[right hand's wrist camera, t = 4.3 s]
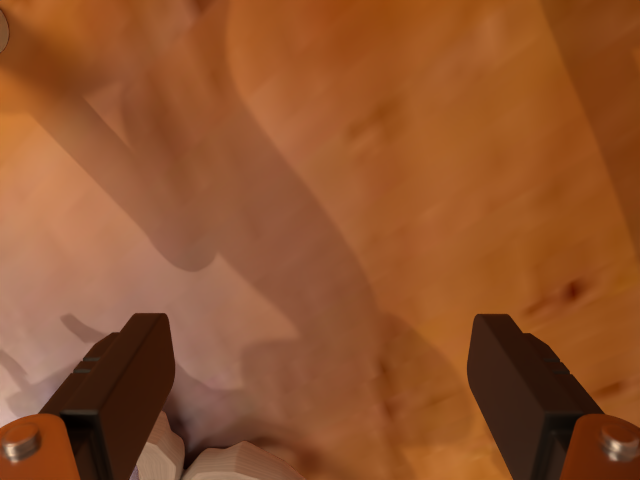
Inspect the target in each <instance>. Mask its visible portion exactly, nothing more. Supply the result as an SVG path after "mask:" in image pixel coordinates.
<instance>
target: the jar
mask: <svg viewBox="0 0 640 480" xmlns="http://www.w3.org/2000/svg"><path fill="white" fill-rule="evenodd" d="M8 39H9V28H8V24H7V21H6V18H5V16H4V14H3V13H2V11H1V10H0V52H2V51H3V50H4V48H5V47H6V45H7V43H8Z"/></svg>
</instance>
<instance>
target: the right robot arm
mask: <svg viewBox="0 0 640 480" xmlns="http://www.w3.org/2000/svg"><path fill="white" fill-rule="evenodd" d="M467 376H468V382H469V386H470V389H471V391H472V393H473V395H474V397H475V399H476V401H477V404H478V406H479V408H480V410H481V412H482V414H483V416H484V418H485V421H486V423H487V425H488V427H489V429H490V431H491V433H492V435H493V437H494V440H495V442H496V444H497V446H498V448H499V450H500V452H501V454H502V457H503V459H504V461H505V463H506V465H507V467H508V469H509V471H510V474H511V476H512V478H513V480H640V428H638V427H637V426H635V425H633V424H631V423H630V422H627V421H625V420H623V419H620V418H617V417H614V416H610V415H605V413H604V412H603V411H602V410H601V409H600V407H599V406H598V405H597V404H596V403H595V401H594V400H593V399H592V398H591V397H590V395H589V394H588V393H587V392H586V390H585V389H584V388H583V387H582V386H581V384H580V383H579V382H578V381H577V380H576V378H575V377H574V376H573V375H572V374H570V371H569V370H568V369H567V367H566V366H565V365H564V364H563V363H562V362H560V359H559V358H558V357H557V355H556V354H555V353H554V352H553V351H552V349H551V348H550V347H549V346H548V345H547V344H545V343H544V342H542V341H541V340H539V339H538V338H536V337H535V336H533V335H532V334H530V333H522V331H521V330H520V329H519V327H518V326H517V325H516V323H515V322H514V321H513V320H512V318H511V317H510V316H509V315H508V314H477V315H476V316H475V318H474V322H473V328H472V335H471V341H470V348H469V355H468V361H467ZM174 377H175V359H174V352H173V346H172V339H171V332H170V325H169V319H168V317H167V315H166V314H165V313H135V314H134V315H133V316H132V317H131V318H130V320H129V321H128V322H127V323H126V325H125V326H124V327H123V329H122V330H121V331H120V332H113V333H111V334H110V335H108V336H107V337H105V338H104V339H102V340H101V341H99V342H98V343H96V344H95V345H94V346H93V347H92V348H91V349H90V351H89V352H88V353H87V354H86V356H85V357H84V358H83V361H81V362H80V363H79V364H78V365H77V367H76V368H75V369H74V372H73V373H71V374H70V375H69V376H68V378H67V379H66V380H65V381H64V382H63V384H62V385H61V386H60V387H59V388H58V390H57V391H56V392H55V393H54V395H53V396H52V397H51V398H50V399H49V401H48V402H47V403H46V404H45V406H44V407H43V408H42V409H41V410H40V412H39V413H38V414H35V415H30V416H26V417H23V418H20V419H17V420H15V421H13V422H10V423H9V424H7V425H5V426H3V427H2V428H0V480H129V479H130V476H131V474H132V472H133V470H134V468H135V466H136V463H137V461H138V459H139V457H140V455H141V453H142V451H143V448H144V446H145V444H146V442H147V440H148V438H149V436H150V433H151V431H152V429H153V427H154V425H155V423H156V421H157V418H158V416H159V414H160V412H161V410H162V408H163V405H164V403H165V401H166V399H167V397H168V395H169V393H170V390H171V388H172V386H173V382H174Z"/></svg>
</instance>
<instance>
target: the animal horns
mask: <svg viewBox="0 0 640 480" xmlns="http://www.w3.org/2000/svg"><path fill="white" fill-rule="evenodd" d="M184 457H185V446H184V443H183V440H182V438H181V437H179V436H178V435H177V434H175V433H174V432H172V431H171V429H170V426H169V422H168V419H167V416H166V413H165V412H163V411H161V412H160V414H159V416H158V418H157V421H156V423H155V425H154V427H153V429H152V431H151V433H150V436H149V438H148V440H147V442H146V444H145V446H144V448H143V451H142V453H141V455H140V457H139V459H138V461H137V463H136V465H137V468H138V470H139V472H138V476H139V480H306V479H305V478H304V477H303V476H302V475H301V474H299V473H298V472H297V471H296V470H295V469H293V468H292V467H291V466H290V465H289V464H287V463H286V462H285V461H283V460H282V459H280V458H278V457H276V456H274V455H272V454H270V453H268V452H267V451H265V450H263V449H261V448H259V447H257V446H255V445H254V444H252V443H250V442H248V441H242V442H240V443H238V444H235V445H233V446H231V447H229V448H226V449H218V448H207V449H205V450H204V451H203V452H202V453H201V454H200V455H199V456H198V457H197V458H196V460H195V461H194V462H193V463H192V464H191V465H190V466H189V467H188V469H187V470H185V469H183V464H184Z"/></svg>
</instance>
